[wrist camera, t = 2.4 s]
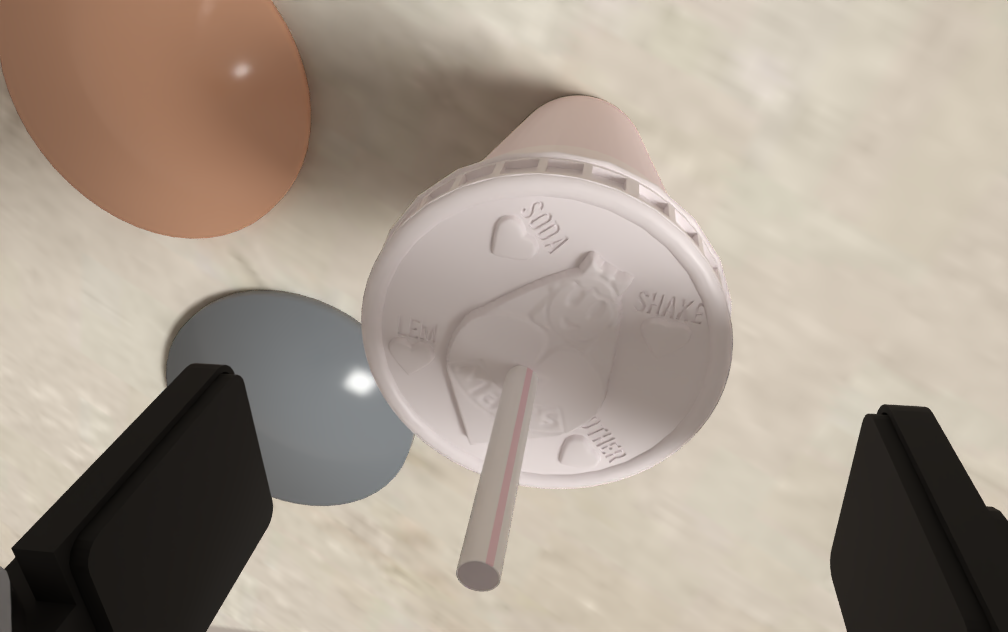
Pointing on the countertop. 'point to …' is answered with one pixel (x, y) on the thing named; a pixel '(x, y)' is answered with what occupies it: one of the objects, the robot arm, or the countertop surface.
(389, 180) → the countertop surface
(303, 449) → the grey pebble
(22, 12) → the orange brown disc
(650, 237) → the smoothie
